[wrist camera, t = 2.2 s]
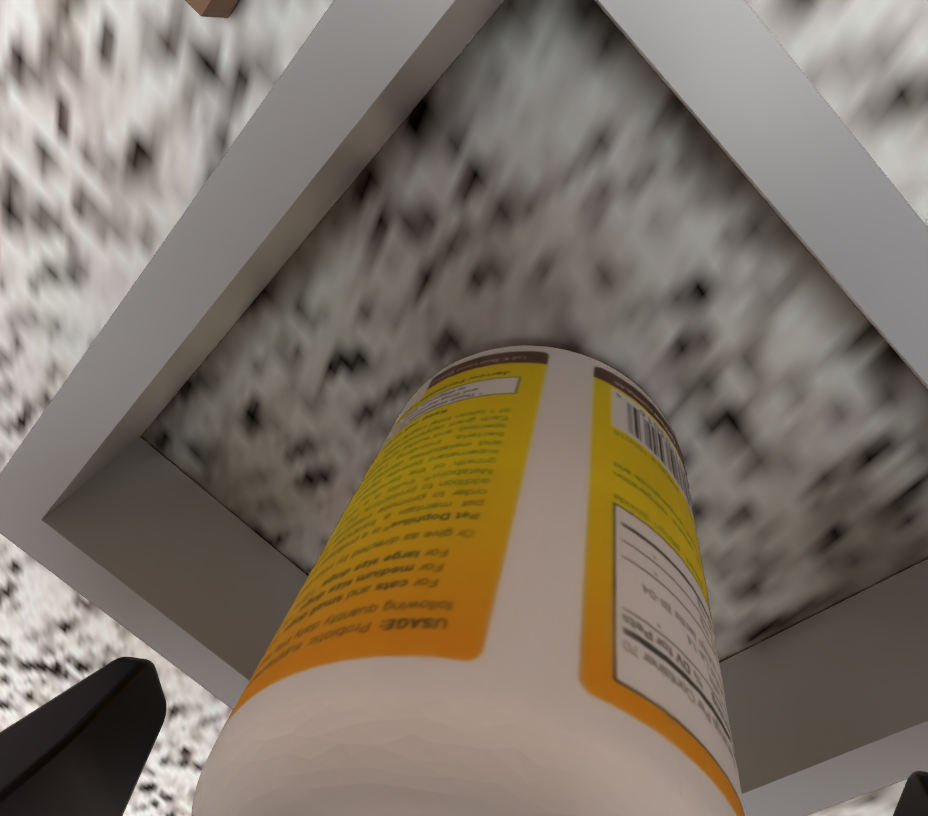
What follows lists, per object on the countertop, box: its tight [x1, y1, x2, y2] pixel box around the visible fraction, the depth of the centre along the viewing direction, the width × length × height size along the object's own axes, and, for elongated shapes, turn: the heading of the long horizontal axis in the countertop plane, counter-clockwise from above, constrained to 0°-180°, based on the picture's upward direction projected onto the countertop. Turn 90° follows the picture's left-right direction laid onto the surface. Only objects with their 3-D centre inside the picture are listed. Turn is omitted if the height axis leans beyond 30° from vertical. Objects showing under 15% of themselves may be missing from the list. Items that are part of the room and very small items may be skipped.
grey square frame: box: [0, 0, 928, 816], centre depth 12 cm, size 14×14×3 cm
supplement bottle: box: [192, 345, 746, 816], centre depth 9 cm, size 6×6×10 cm
